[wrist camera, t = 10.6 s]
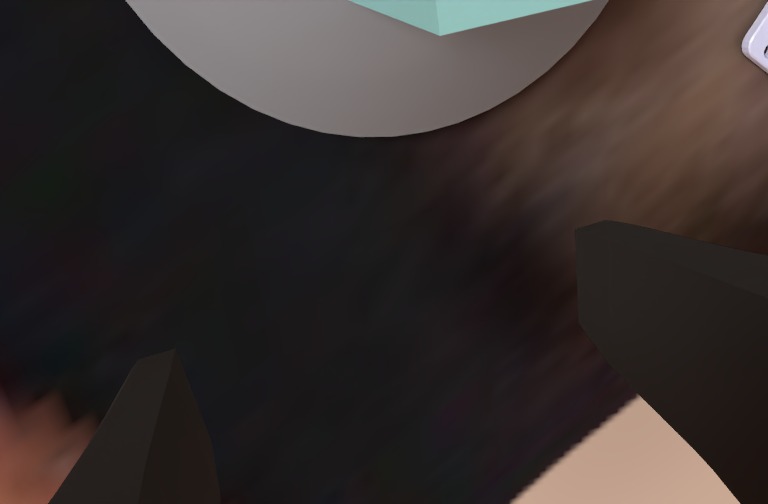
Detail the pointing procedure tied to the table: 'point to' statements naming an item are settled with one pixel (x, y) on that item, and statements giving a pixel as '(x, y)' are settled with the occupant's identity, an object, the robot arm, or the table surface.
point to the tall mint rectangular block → (460, 11)
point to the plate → (360, 60)
